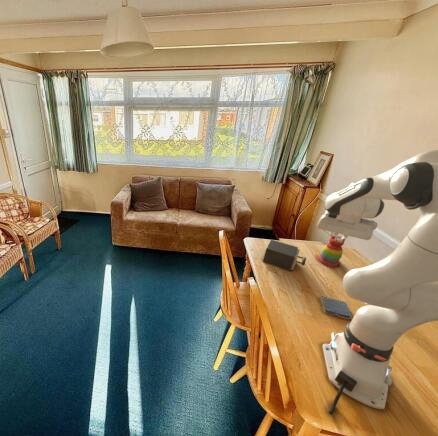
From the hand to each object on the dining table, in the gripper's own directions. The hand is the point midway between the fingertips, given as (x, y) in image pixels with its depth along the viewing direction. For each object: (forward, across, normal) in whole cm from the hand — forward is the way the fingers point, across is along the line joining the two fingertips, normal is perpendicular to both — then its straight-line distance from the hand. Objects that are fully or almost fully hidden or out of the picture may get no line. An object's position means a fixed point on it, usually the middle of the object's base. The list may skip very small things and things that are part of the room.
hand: (338, 241), depth 111 cm
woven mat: (+25, -6, +19) cm, 32 cm away
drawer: (+24, +18, -6) cm, 31 cm away
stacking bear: (+25, -2, -23) cm, 34 cm away
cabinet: (+25, +22, -6) cm, 34 cm away
